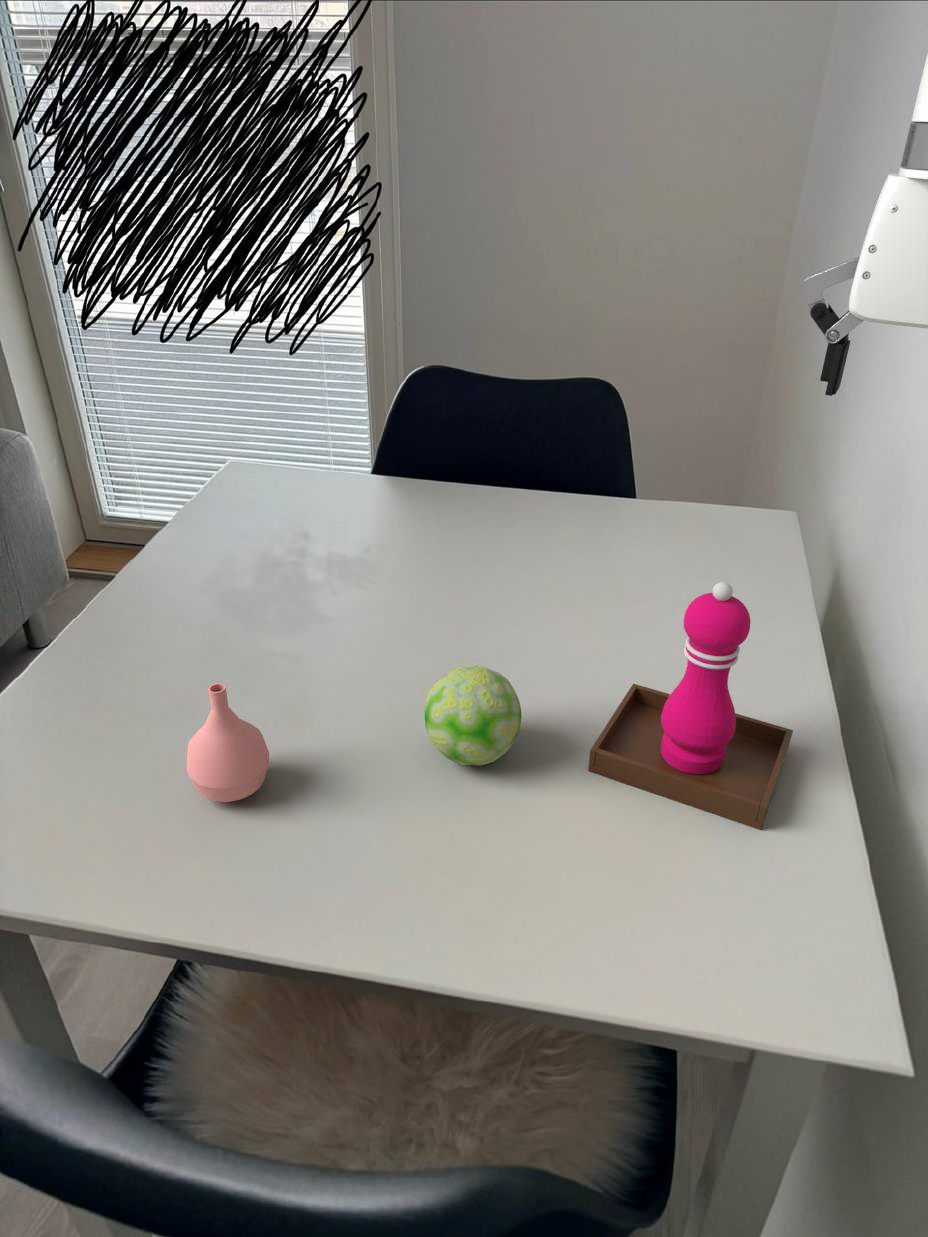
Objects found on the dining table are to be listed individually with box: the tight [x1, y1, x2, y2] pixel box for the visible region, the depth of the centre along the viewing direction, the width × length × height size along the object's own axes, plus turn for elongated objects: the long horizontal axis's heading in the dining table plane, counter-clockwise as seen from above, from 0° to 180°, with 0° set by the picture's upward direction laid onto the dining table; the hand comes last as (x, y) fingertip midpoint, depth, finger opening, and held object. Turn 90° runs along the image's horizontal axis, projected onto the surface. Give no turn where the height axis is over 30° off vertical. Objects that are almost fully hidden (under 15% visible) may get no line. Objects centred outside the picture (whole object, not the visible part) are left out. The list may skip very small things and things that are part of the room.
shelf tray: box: [587, 683, 794, 831], centre depth 89 cm, size 17×13×3 cm
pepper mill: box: [661, 581, 751, 775], centre depth 84 cm, size 7×7×20 cm
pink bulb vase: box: [185, 682, 270, 803], centre depth 82 cm, size 8×8×12 cm
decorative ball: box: [424, 665, 522, 766], centre depth 88 cm, size 10×10×10 cm
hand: (896, 400), depth 69 cm, fingers open, 9 cm apart
